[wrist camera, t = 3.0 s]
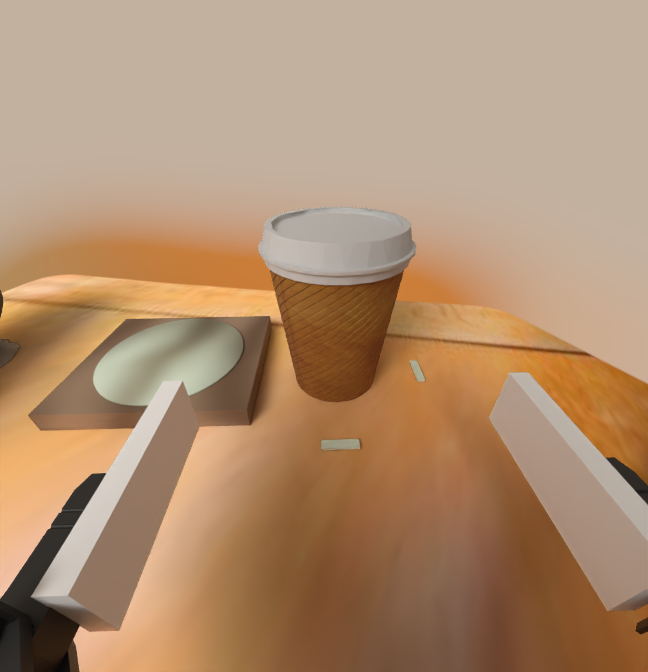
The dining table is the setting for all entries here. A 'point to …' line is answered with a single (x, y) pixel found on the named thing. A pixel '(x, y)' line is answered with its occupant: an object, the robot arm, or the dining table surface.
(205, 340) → the board
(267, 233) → the disposable coffee cup
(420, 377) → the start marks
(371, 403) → the dining table surface
